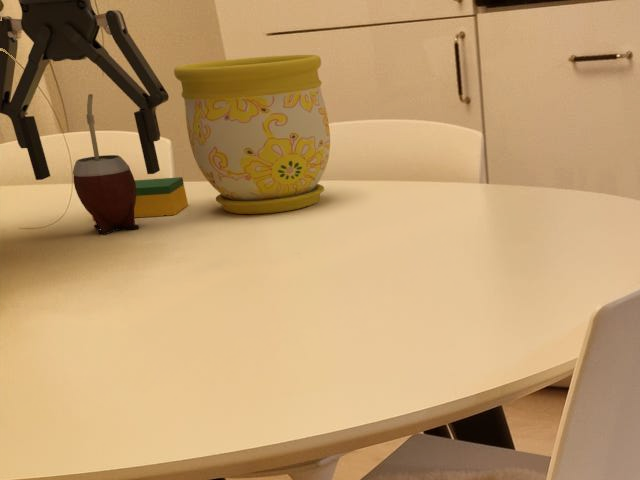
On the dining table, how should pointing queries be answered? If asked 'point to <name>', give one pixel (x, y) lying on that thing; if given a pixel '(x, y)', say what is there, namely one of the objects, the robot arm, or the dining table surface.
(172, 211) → the sponge
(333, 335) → the dining table surface
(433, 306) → the dining table surface
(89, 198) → the mate gourd
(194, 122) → the flowerpot
